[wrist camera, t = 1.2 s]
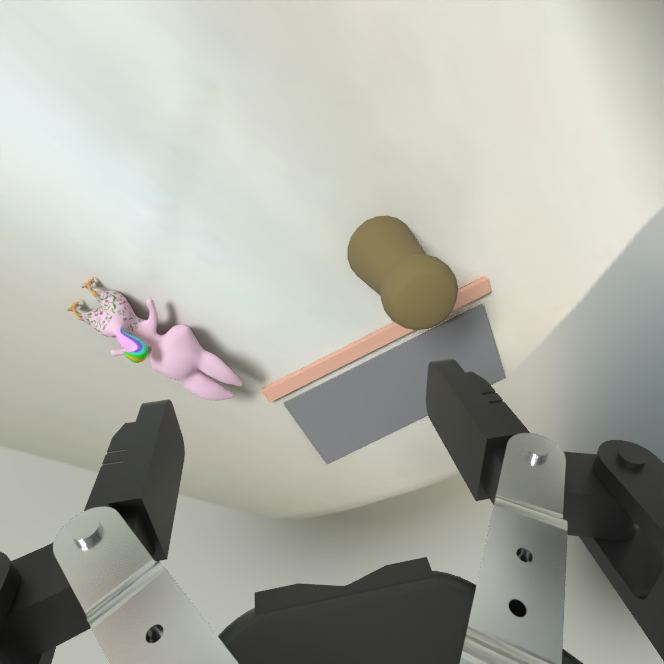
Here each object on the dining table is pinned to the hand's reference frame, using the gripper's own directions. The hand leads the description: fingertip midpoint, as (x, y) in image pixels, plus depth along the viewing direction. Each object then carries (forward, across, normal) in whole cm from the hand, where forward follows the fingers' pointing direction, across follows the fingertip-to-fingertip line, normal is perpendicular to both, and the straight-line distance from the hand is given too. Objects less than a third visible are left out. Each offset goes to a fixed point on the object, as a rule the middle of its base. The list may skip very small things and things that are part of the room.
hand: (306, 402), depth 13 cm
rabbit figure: (+24, +10, +10) cm, 28 cm away
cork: (+24, -9, +4) cm, 26 cm away
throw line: (+24, -8, +13) cm, 29 cm away
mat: (+24, -11, +19) cm, 33 cm away
